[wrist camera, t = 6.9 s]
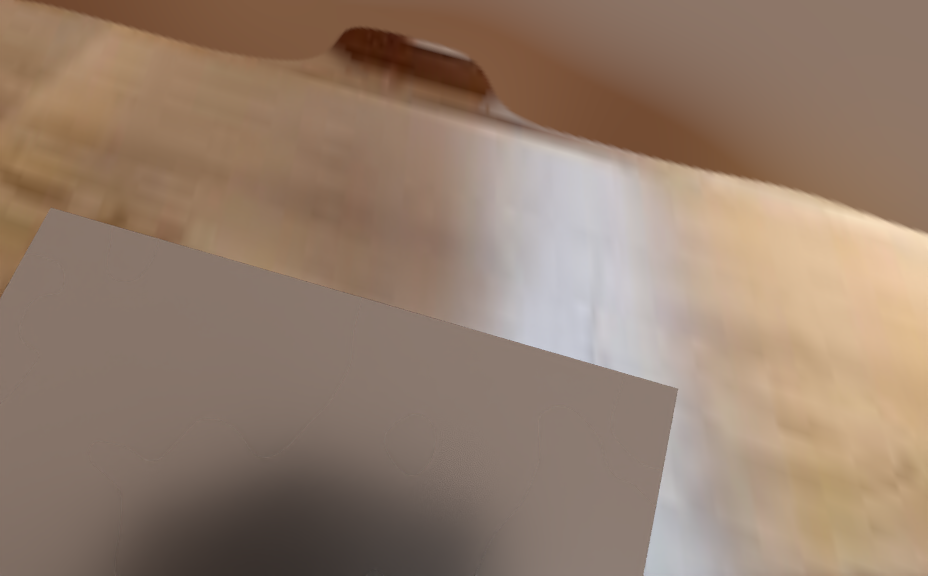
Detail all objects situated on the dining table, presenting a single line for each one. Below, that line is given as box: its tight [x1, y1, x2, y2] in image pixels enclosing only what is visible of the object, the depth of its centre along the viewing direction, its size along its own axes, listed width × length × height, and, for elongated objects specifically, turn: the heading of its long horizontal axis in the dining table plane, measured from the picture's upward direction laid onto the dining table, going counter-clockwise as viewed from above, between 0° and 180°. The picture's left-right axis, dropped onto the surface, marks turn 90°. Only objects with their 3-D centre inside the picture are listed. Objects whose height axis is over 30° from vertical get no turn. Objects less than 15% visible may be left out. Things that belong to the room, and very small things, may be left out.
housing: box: [0, 208, 678, 576], centre depth 9 cm, size 6×6×12 cm
